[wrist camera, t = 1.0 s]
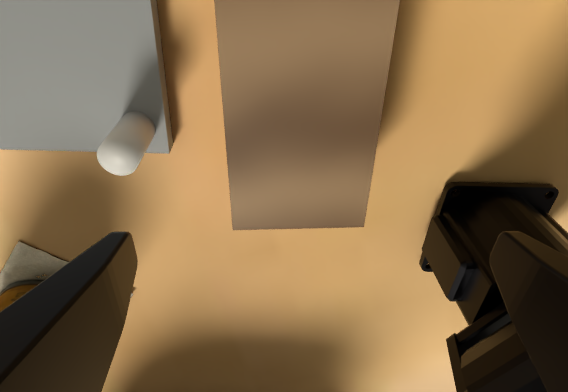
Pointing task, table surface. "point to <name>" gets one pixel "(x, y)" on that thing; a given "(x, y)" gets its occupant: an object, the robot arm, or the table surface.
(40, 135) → the chassis
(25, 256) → the condiment
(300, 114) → the block
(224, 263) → the table surface
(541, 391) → the robot arm
